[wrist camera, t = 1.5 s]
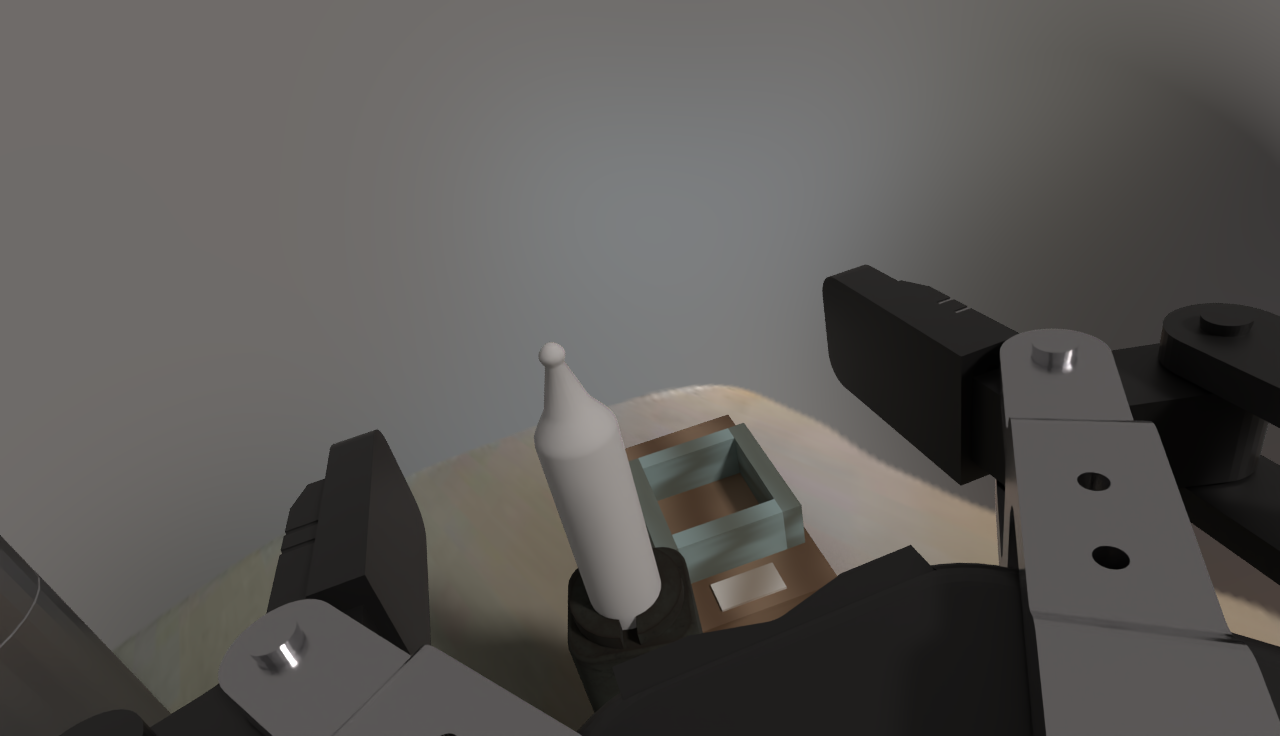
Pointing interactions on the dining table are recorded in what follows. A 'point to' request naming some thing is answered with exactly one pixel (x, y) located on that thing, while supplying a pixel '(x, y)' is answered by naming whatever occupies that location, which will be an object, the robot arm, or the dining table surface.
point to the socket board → (727, 523)
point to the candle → (606, 538)
